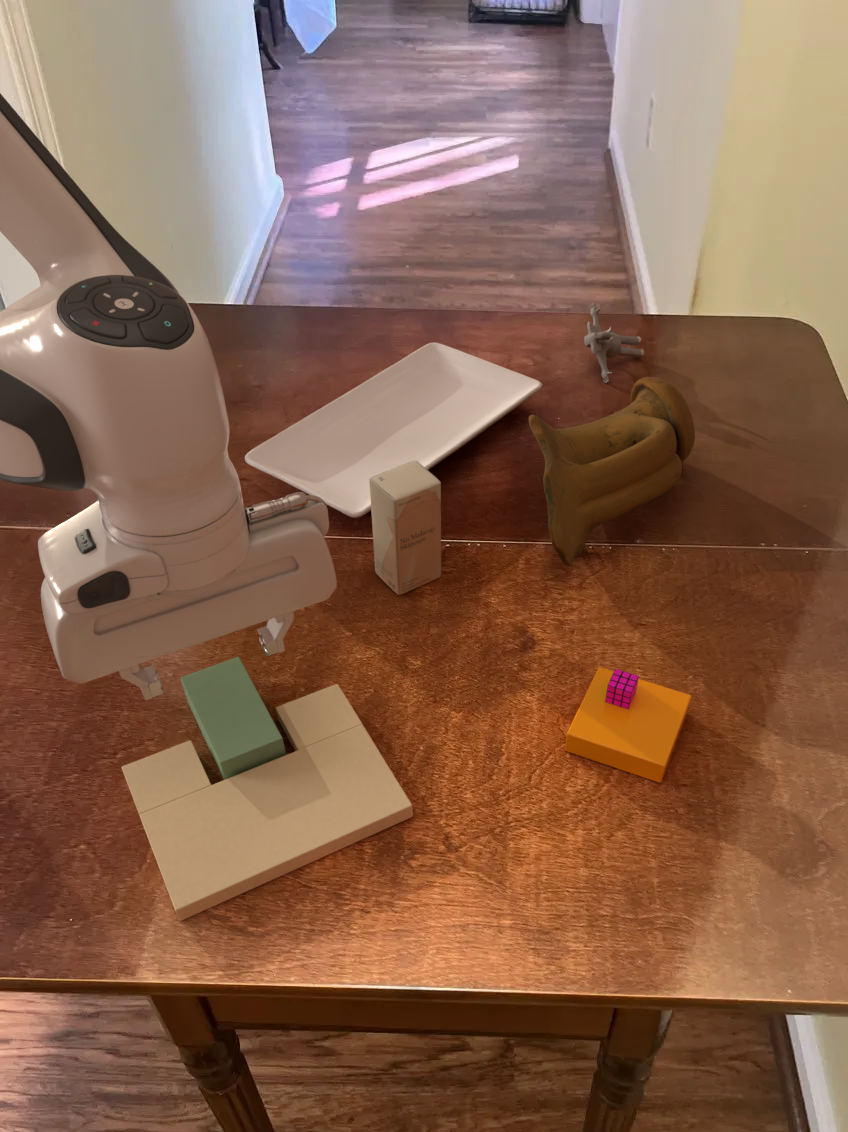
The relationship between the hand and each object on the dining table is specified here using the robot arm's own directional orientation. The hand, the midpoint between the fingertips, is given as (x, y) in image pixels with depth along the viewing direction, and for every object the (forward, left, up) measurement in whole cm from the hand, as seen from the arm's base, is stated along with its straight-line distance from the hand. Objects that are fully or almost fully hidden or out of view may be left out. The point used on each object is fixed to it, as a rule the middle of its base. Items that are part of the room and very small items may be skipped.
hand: (214, 670), depth 75 cm
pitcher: (+43, +10, -7) cm, 45 cm away
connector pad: (0, 0, -7) cm, 7 cm away
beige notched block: (0, -8, -7) cm, 10 cm away
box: (+21, +10, -7) cm, 25 cm away
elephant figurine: (+60, +34, -7) cm, 70 cm away
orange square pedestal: (+28, -16, -7) cm, 33 cm away
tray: (+30, +30, -7) cm, 43 cm away
